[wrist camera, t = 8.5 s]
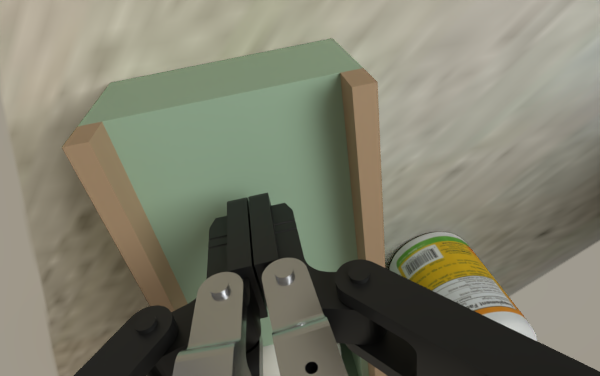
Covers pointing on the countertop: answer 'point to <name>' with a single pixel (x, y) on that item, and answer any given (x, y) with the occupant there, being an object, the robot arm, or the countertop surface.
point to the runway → (236, 163)
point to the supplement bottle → (458, 277)
